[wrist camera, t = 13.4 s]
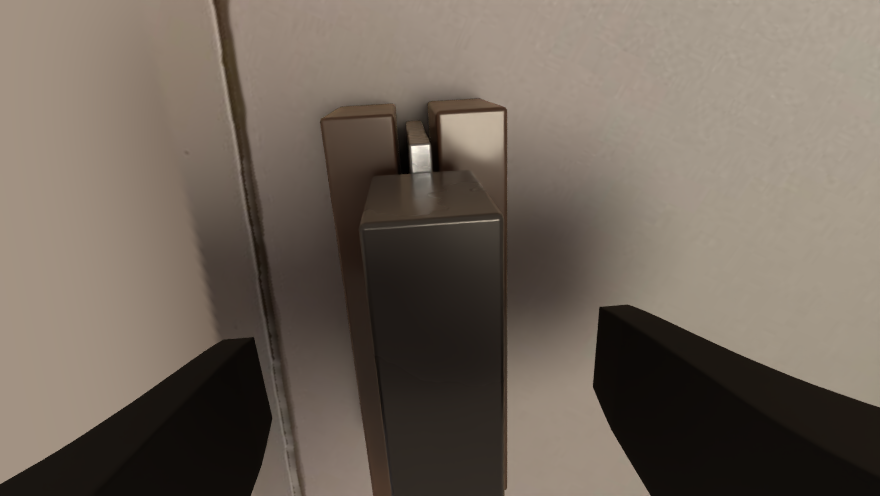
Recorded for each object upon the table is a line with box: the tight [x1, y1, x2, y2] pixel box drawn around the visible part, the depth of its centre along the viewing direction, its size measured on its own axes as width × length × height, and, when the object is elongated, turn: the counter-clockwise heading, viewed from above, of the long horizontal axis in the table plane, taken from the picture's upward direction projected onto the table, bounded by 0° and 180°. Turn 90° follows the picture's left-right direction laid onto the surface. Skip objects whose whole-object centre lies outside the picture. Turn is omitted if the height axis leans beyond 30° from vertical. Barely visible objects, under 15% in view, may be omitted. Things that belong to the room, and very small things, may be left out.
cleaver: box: [359, 120, 504, 496], centre depth 10 cm, size 2×9×7 cm, turn 3°
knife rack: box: [320, 98, 507, 496], centre depth 12 cm, size 4×10×3 cm, turn 3°
